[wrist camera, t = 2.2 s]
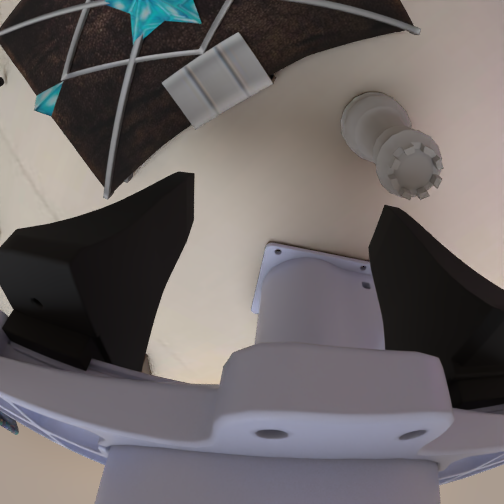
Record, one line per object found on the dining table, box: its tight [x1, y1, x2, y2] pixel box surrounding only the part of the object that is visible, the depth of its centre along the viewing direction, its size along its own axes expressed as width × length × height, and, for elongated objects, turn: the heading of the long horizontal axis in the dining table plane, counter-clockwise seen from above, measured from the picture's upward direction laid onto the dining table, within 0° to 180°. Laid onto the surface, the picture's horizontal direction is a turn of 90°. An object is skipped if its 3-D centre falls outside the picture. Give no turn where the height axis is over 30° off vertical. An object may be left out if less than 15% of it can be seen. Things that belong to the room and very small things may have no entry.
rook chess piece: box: [341, 92, 443, 200], centre depth 14 cm, size 4×4×8 cm
